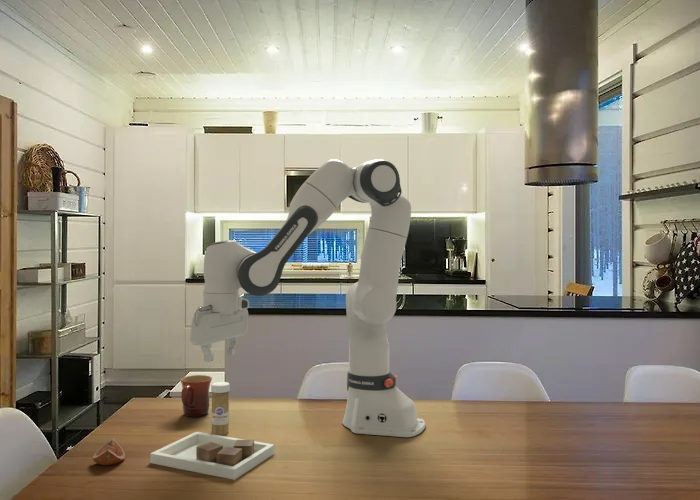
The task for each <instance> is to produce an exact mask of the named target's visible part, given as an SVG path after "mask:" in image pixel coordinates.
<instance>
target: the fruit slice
mask: <svg viewBox="0 0 700 500" xmlns="http://www.w3.org/2000/svg"><path fill="white" fill-rule="evenodd" d="M91 459H92V460H93V462H94V463H96V464H98V465H100V466H101V465H102V466H110V465H116V464H118V463H121V462H123V461H124V460H125V459H126V453H125V450H124V448H123V447H122V445H121V444H120V443H119V442H118V441H117V439H115V438H114V437H113V436H112V437H111V438H109V440H107V441H106V442H105V443H104V444H103V445H101V446H100V447H99V448H98V449H97V450H96V451H95V453H94V454H93V455H92V458H91Z"/></svg>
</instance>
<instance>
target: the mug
mask: <svg viewBox="0 0 700 500" xmlns="http://www.w3.org/2000/svg"><path fill="white" fill-rule="evenodd" d="M212 380H213V377H212V376H210V375H205V374H204V375H203V374H198V375H197V374H194V375H188V376H183V377H181V378H180V383H181V387H182V389H181V393H180V394H181V395H180V396H181V403H182V411H183V415H184V416H186V417H189V418H200V417H204V416H206V415H208V413H209V409H210V407H211V406H210V388H211V382H212Z"/></svg>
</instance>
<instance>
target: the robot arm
mask: <svg viewBox="0 0 700 500" xmlns="http://www.w3.org/2000/svg"><path fill="white" fill-rule="evenodd" d="M402 193H403V192H402V187H401V177H400V174H399V171H398V169H397V167H396V165H394V164H393V163H392V162H391V161H389V160H386V159H378V158H377V159H372V160H368V161H365V162H363V163H361V164H359V165H356V166H354V167H350V166H349V165H348V164H347V163H345V162H344V161H342V160H339V159H334V158H333V159H329V160H327V161H326V162H324V163H323V164H321V165H320V166H319V167H318V168H317V169H316V170H315V171H314V172H313V173H312V174H310V176H309V177H307V179H306V180H305V181H304V182H303V183H302V185H301V186H300V187H299V188H298V190H297V192H296V193H295V195H294V196H293V198H292V200H291V201H290V203H289V209H288V215H287V218H286V220H285V221H284V224H283V225H282V226H281V228H280V229H279V230H278V231H277V233H276V234H275V235H274V236H273V237H272V238H271V240H269V242H268V244H267V245H266V246H265V247H264V248H263V249H261V250H260V251H258V252H256V251H254V250H252V249H250V248H247V247H245V246H243V245H242V244H240V243H238V241H237V240H235V239H226V240H221V241H215V242H213V243H211V244H209V245H208V246H207V247H206V249H205V252H204V257H203V258H204V259H203V279H204V287H203V291H202V298H203V299H202V300H203V301H202V305H203V306H199V307H197V309H196V310H195V312H194V313H193V317H192V320H191V325H190V337H189V341H190V343H191V345H193V346H200V348H201V351H202V354H203V360H204V362H209V363H210V362H212V361H214V359H215V358H214V356H215V355H214V354H215V353H212V351H211V349H212V344H215V343H218V342H222V341H223V342H224V341H226V340H228V341H229V342H228V346H227V347H226V355H227V356H233V355H236V347H237V345H238V343H239V337H243V336H246V335H247V333H248V331H249V311H248V309H249V308H250V301H249V300H248V299H246V298H245V297H242V296H239V294H240V291H239V290H240V289H243V291H245V292H246V293H247V294H250V295H253V296H255V297H261V296H263V297H264V296H267V295H269V294H271V293H272V292H273V291H274V290H275V289H276V288H277V287H278V285H279V283H280V281H281V278H282V274H283V271H284V267H285V266H286V264H287V262H288V261H289V260H290V258H291V257H292V256H293V255H294V253H295V252H296V251H297V249H298V248H299V247H300V246H301V245H302V243H303V242H304V241H305V240H306V239H307V237H308V236H309V235H311V234H312V233H313V232H314V231H315V230H316V229H318V228H319V227H320V226H322V225H323V223H325V222H326V221H327V220H328V219H329V218H330V217H331V216H332V215H333V213H335V211H336V210H337V209H338V208H339V207H340V205H341V203H342V202H343V201H345V200H346V199H347V198H349V199H351V200H353V201H355V202H359V203H361V204H363V203H364V204H368V203H369V205H370V209H371V213H370V214H371V217H370V221H369V224H368V227H367V231H366V235H365V239H364V242H363V243H364V244H363V245H362V246H363V247H362V251H361V254H360V268H359V275H358V281H357V282H355V283H353V284H352V285H351V286H350V287H349V288H348V290H347V292H346V294H345V306H346V307H345V308H346V309H345V311H346V324H347V333H348V334H347V335H348V371H347V374H346V375H347V376H346V389H347V399H346V407H345V411H344V416H343V419H342V425H343V426H344V427H346V428H348V429H350V431H351V432H352V433H353V434H360V435H362V434H363V435H371V436H372V435H373V436H375V435H376V436H386V437H387V436H388V437H399V438H412V437H415V436H417V435H419V434H421V433H422V432H423V431H424V430H425V428H426V422H425V420H424V419H423V418H419V417H418V413H417V412H418V411H417V407H416V405H415V402H414V401H413V400H412V399H411V398H409V396H407V395H406V394H405V393H404V392H402V390H400V389H399V388H398V387H397V386H396V385H397V380H398V374H396V375H393V373H391V372H390V342H389V337H388V332H387V324H386V323H387V322H389V321H390V320H391V319H392V318H393V317H394V316H395V314H396V311H397V295H398V288H399V277H400V267H401V264H402V260H403V255H404V251H405V247H406V243H407V239H408V236H409V231H410V224H411V216H412V205H411V202H410V201H409V200H408V199H407V198H406V197H405V196H403V195H402Z"/></svg>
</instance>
